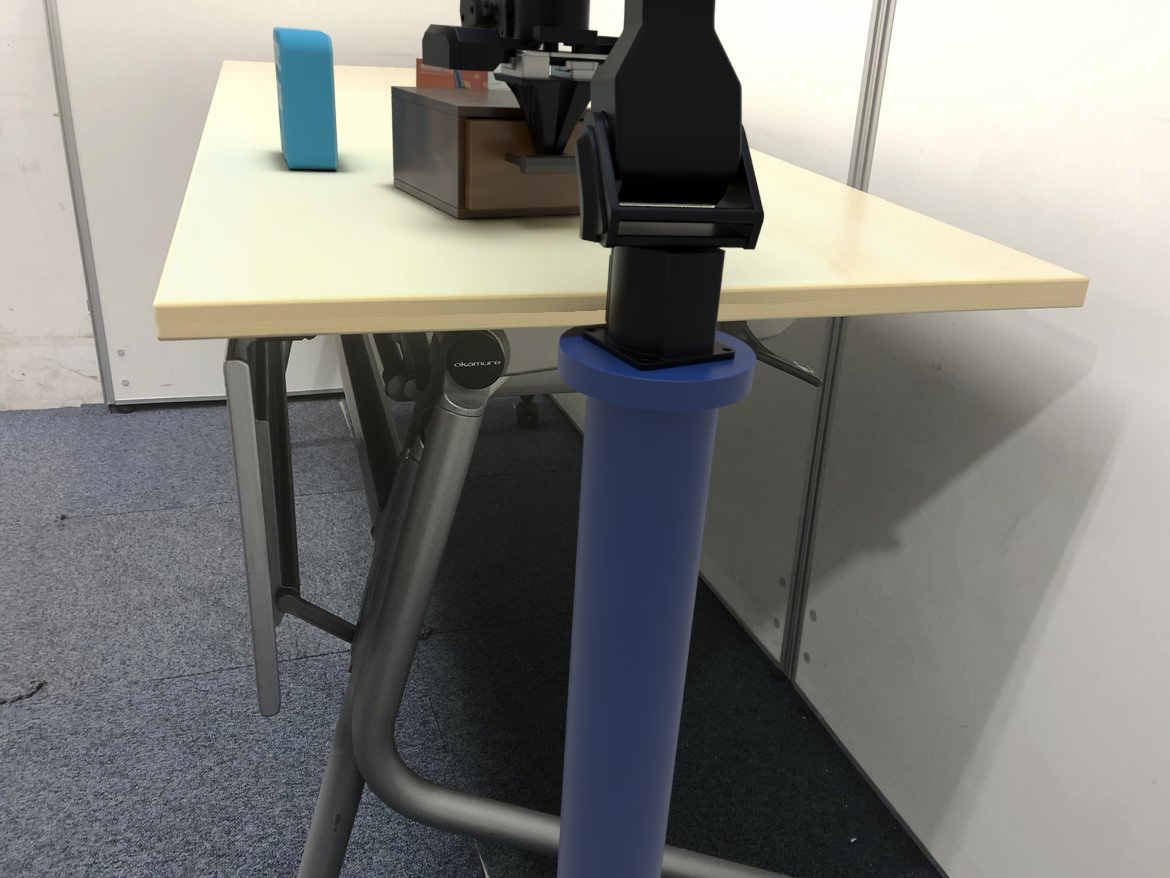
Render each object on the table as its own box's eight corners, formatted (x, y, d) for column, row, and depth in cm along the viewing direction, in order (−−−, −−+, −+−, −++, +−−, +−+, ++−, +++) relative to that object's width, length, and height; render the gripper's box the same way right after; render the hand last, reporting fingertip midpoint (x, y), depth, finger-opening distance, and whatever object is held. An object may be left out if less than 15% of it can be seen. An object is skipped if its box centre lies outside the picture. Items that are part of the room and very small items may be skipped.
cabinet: (591, 213, 86) (598, 109, 82) (457, 218, 79) (458, 106, 76) (516, 183, 97) (519, 90, 93) (393, 186, 90) (390, 85, 86)
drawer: (619, 216, 81) (625, 129, 78) (493, 221, 75) (495, 128, 72) (522, 178, 94) (524, 103, 91) (408, 180, 88) (407, 100, 85)
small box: (414, 168, 100) (412, 56, 95) (441, 162, 104) (441, 55, 100) (486, 178, 98) (487, 64, 93) (510, 172, 102) (512, 63, 98)
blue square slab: (281, 152, 102) (272, 25, 97) (326, 153, 104) (319, 29, 99) (289, 171, 92) (279, 32, 87) (339, 172, 94) (332, 36, 89)
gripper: (605, -38, 83) (595, 155, 89) (391, -62, 73) (398, 156, 80) (681, -38, 75) (664, 175, 81) (451, -65, 65) (453, 178, 71)
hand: (547, 170), depth 79 cm, fingers closed, pressing on drawer
